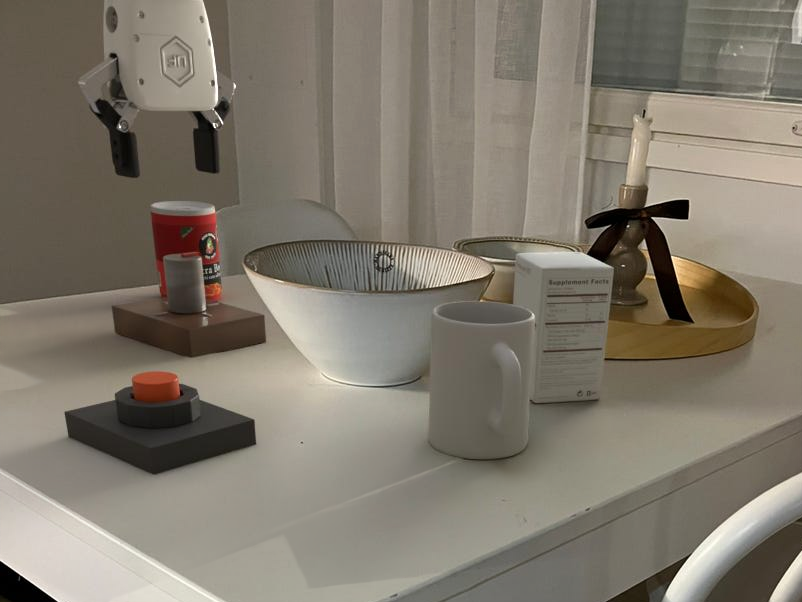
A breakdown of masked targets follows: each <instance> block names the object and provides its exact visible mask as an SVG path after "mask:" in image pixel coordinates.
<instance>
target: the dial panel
mask: <svg viewBox="0 0 802 602" xmlns="http://www.w3.org/2000/svg"><path fill="white" fill-rule="evenodd" d="M205 300H206V310H205V311H203V312H199V313H191V314H182V313H174V312H171V311H169V307H168V298H167V297H162V296H161V297H156V298H150V299H144V300H138V301H131V302H124V303H119V304H113V305H111V313H112V320H113V327H114V333H115V334H118V335H121V336H124V337H127V338H130V339H133V340H136V341H139V342H142V343H145V344H148V345H150V346H153V347H156V348H160V349H164V350H166V351H169V352H173V353H175V354H178V355H182V356H184V357H188V358H191V359H192V358H193V359H194V358H197V357H201V356H202V357H203V356H206V355H210V354H217V353H221V352H227V351H231V349H232V350H236V349H241V348H245V347H244V346H246V347H249V346H248V345H250V346H254V345H253V344H255V345H259V344H258V343H260V344H263V343H262V342H264V343H266V342H267V334H266V333H267V331H266V318H265V317H266V316H265V314H263V313H259V312H255V311H252V310H248V309H244V308H241V307H237V306H235V305H230V304H226V303H223V302H220V301H212V300H209V299H205ZM240 347H241V348H240ZM235 348H236V349H235ZM226 350H227V351H226Z"/></svg>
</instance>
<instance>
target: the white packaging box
mask: <svg viewBox="0 0 802 602" xmlns="http://www.w3.org/2000/svg"><path fill="white" fill-rule="evenodd" d="M514 262H515V264H514V278H513V279H514V282H513V284H514V285H513V296H512V305H516V306H520V307H523V308H525V309H528V310H530V311H531V312H532V313H533V314H534V317H535V328H534V343H533V358H532V373H531V388H530V400H531V401H532V403H534V404H545V403H547V404H549V403H565V402H583V401H595V400H599V399H601V395H602V384H603V376H604V366H605V356H606V348H607V347H606V346H607V339H608V338H607V336H608V328H609V318H610V310H611V302H612V301H611V300H612V290H613V282H614V272H615V271H614V270H615V268H614V266H611V265H609V264H606V263H604V262H602V261H601V260H598V259H596V258H595V257H592V256H590V255H588V254H586V253H584V252H582V251H581V252H580V251H553V252H552V251H551V252H550V251H547V252H519V253H516V254H515V261H514Z"/></svg>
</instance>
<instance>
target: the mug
mask: <svg viewBox="0 0 802 602" xmlns="http://www.w3.org/2000/svg"><path fill="white" fill-rule="evenodd" d="M534 328H535V317H534V314H533V313H532V312H531V311H530V310H528V309H525V308H523V307H520V306H516V305H513V304H511V303H505V302H498V301H487V300H485V301H484V300H463V301H454V302H453V301H452V302H447V303H442V304H439V305H437V306H435V307H434V308H433V309H432V310H431V314H430V350H429V351H430V353H429V354H430V355H429V405H428V406H429V407H428V430H427V434H428V441H429V444H430V446H431V447H432V448H434V449H435V450H436V451H439V452H440V453H443V454H446V455H448V456H451V457H457V458H461V459H466V460H467V459H468V460H499V459H505V458H509V457H512V456H516V455H518V454H520V453H522V452H523V451H524V450H525V449H526V447H527V444H528V440H529V420H530V418H529V417H530V402H531V401H530V400H531V399H530V388H531V373H532V358H533V343H534Z"/></svg>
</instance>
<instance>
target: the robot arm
mask: <svg viewBox="0 0 802 602" xmlns="http://www.w3.org/2000/svg"><path fill="white" fill-rule="evenodd" d="M102 21H103V25H102V27H103V29H102V30H103V37H102V38H103V57H104V59H103V61H102V62H100V63H99V64H97V65H96V66H95V67H93V68H91V69H90V70H89V71H87V72H86V73H84V74H82V75H81V76H79V78H78V80H77V84H78V86H79V89H80V91H81V93H82V94H83V96H84V99H86V101H87V102H88V105H89V109H90V111H91V112H92V113H93V114H94V115H95V116H96V118H97V119H98V120H99V121H100V122H101V124H102V127H103V129H104V130H107V131H108V135H109V143H110V152H111V160H112V164H113V166H114V171H115V174H116V175H117V176H120V177H125V178H130V179H138V178H139V177H140V176H141V171H140V170H141V169H140V161H139V151H138V141H137V140H138V139H137V135H136V133H135V132H132V131H131V130H130V129H131V128H132V125H133V123H134V122H135V120H136V118H137V116H138V114H139V113H140V110H143V111H151V112H188V114H189V115H190V117H191V118H192V119H193V121H194V122H195V124H196V125H197V127H196V128H195V127H194V128H193V131H192V139H193V153H194V164H195V169H196V170H197V171H198V172H202V173H208V174H213V175H214V174H219V173H220V170H221V169H220V167H221V166H220V145H219V144H220V143H219V132H220V131H222V130H223V127H224V121H225V119H226V117H227V116H228V114H230V112H231V105H230V104H231V103H232V101H233V97H234V94H235V91H236V83H235V82H234V81H233V80H232V79H230V78H229V77H228V76H226V75H225V74H224V73H222V72H221V71H220V70H218V69H217V68H216V60H215V52H214V45H213V38H212V34H211V33H212V32H211V28H210V22H209V18H208V14H207V10H206V6H205V2H204V0H104V1H103V20H102ZM104 85H106V86H107V92H108V96H109V98H110V101H111V103H110V102H109V101H108V100H106V98H105V95H104V92H103V87H104Z"/></svg>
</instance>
